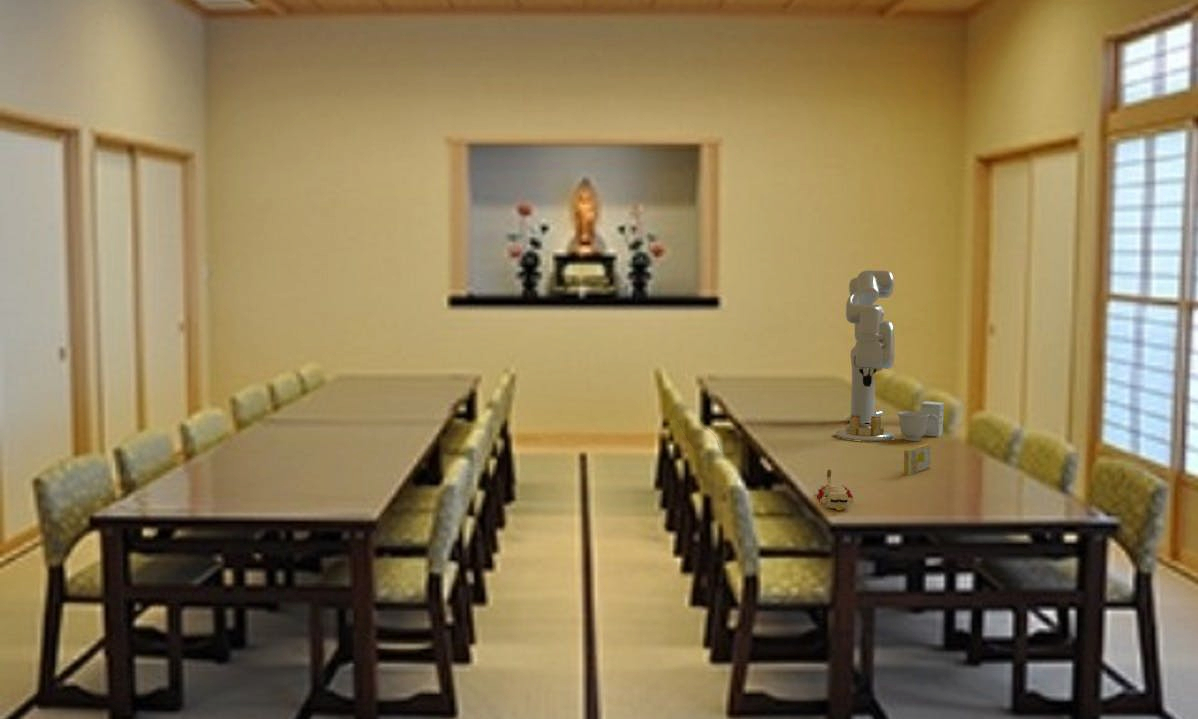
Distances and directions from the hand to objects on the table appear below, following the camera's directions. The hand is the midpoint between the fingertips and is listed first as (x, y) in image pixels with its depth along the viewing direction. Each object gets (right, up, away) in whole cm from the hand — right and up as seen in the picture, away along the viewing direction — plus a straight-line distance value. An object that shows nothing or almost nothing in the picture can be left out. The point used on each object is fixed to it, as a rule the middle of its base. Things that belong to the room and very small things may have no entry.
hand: (866, 386), depth 478 cm
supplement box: (+26, -19, +4) cm, 32 cm away
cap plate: (-2, -19, -3) cm, 20 cm away
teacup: (+17, -20, -8) cm, 28 cm away
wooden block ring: (-2, -18, -4) cm, 18 cm away
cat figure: (-36, -31, -122) cm, 130 cm away
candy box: (+1, -27, -72) cm, 77 cm away
